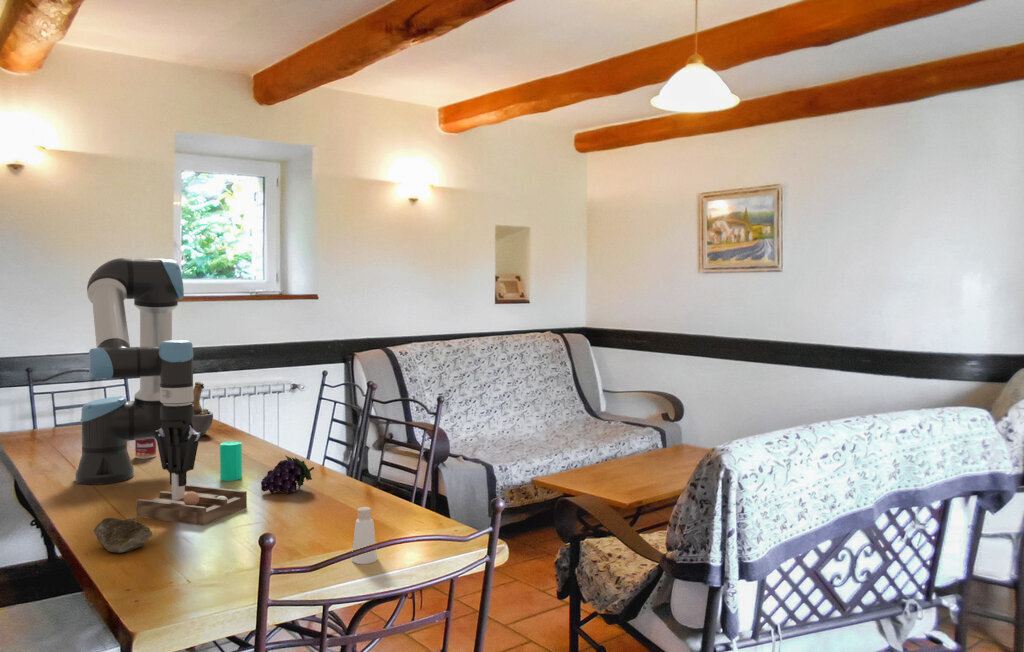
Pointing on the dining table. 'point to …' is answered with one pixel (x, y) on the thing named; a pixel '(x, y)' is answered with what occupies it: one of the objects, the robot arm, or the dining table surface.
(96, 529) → the stone
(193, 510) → the board
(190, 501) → the ball terracotta
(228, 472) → the candle
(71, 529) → the dining table surface
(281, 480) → the fruit
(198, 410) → the grey mortar and pestle
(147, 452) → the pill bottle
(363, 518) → the pepper shaker
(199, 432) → the robot arm
